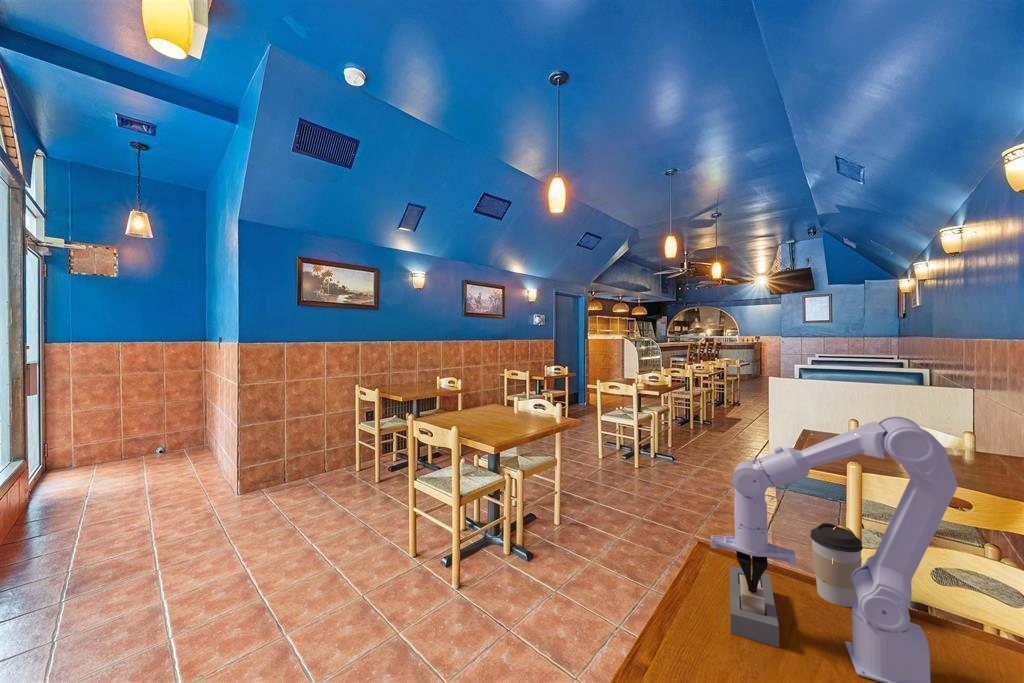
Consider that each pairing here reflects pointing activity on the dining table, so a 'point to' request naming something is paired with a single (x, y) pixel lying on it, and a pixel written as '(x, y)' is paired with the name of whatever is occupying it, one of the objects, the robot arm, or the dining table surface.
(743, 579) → the far peg
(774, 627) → the grey peg hole board
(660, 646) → the dining table surface
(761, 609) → the near peg
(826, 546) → the coffee cup
